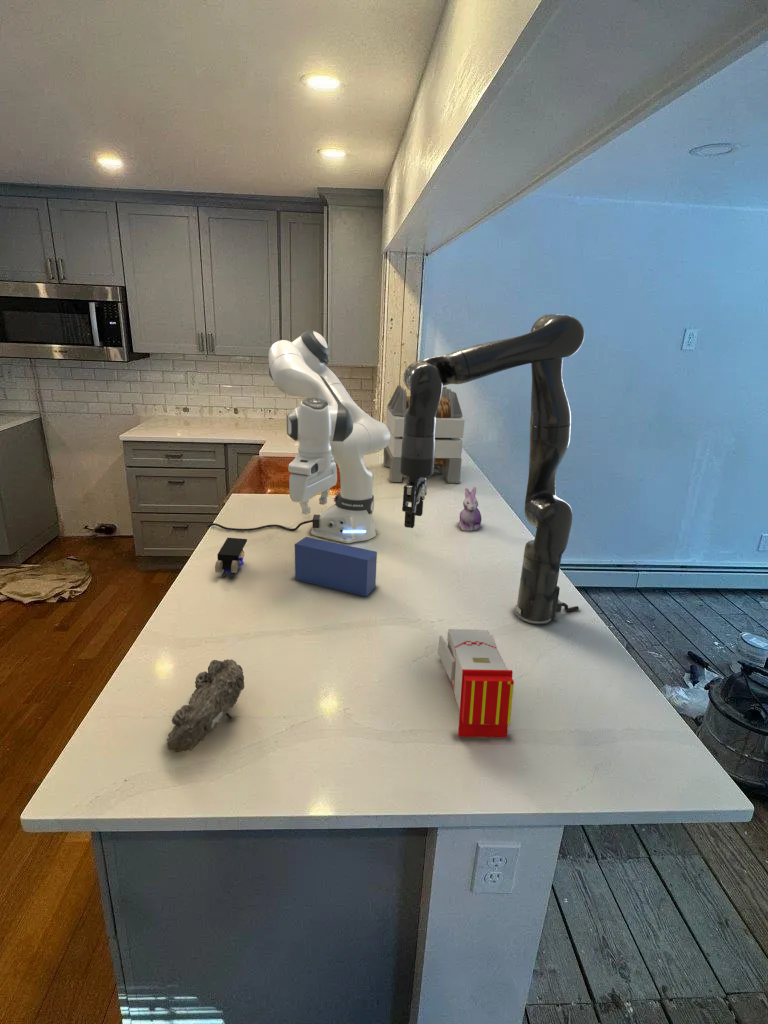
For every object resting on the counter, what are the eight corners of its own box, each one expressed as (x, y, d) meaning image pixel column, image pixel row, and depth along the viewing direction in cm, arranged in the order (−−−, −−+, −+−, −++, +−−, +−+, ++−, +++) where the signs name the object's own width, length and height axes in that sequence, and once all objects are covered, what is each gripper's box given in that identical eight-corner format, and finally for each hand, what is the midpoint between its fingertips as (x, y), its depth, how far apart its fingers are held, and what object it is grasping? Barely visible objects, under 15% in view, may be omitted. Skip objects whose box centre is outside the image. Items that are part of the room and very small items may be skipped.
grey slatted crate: (382, 463, 289) (386, 382, 275) (445, 464, 293) (451, 384, 279) (390, 482, 257) (394, 392, 243) (460, 483, 261) (468, 394, 247)
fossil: (192, 660, 117) (244, 628, 112) (224, 691, 120) (276, 661, 115) (142, 746, 98) (202, 712, 93) (182, 779, 101) (242, 748, 96)
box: (294, 579, 164) (294, 543, 160) (306, 570, 169) (305, 536, 165) (366, 596, 156) (367, 560, 152) (375, 587, 161) (377, 551, 157)
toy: (488, 613, 130) (523, 677, 101) (484, 667, 133) (517, 744, 104) (435, 612, 130) (455, 676, 101) (432, 666, 133) (451, 743, 103)
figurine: (467, 533, 203) (471, 493, 198) (451, 523, 211) (454, 485, 206) (488, 529, 207) (492, 490, 202) (471, 520, 215) (475, 482, 210)
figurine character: (238, 584, 162) (249, 557, 175) (236, 562, 158) (247, 536, 172) (215, 584, 161) (227, 556, 175) (212, 561, 158) (225, 535, 171)
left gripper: (323, 451, 163) (323, 496, 168) (284, 467, 145) (285, 517, 150) (342, 454, 161) (342, 500, 165) (306, 470, 143) (306, 522, 147)
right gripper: (427, 463, 120) (422, 534, 125) (440, 448, 133) (435, 513, 138) (393, 459, 122) (390, 529, 127) (409, 445, 135) (405, 509, 140)
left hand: (314, 508), depth 157 cm, fingers open, 8 cm apart
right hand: (413, 521), depth 133 cm, fingers open, 8 cm apart
